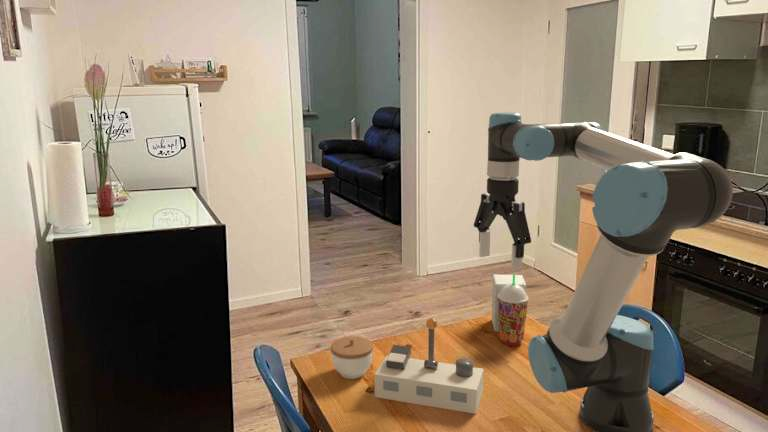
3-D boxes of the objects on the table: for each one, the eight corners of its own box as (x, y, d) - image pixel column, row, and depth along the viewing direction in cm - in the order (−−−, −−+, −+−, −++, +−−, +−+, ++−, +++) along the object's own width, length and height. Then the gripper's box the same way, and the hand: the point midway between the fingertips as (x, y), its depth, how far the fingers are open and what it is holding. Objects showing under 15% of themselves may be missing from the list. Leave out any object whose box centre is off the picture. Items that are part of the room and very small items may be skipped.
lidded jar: (352, 388, 144) (351, 353, 142) (322, 373, 151) (321, 340, 149) (382, 372, 151) (381, 338, 149) (352, 358, 158) (351, 326, 156)
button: (474, 370, 140) (474, 359, 139) (471, 378, 136) (471, 367, 135) (457, 367, 141) (457, 357, 140) (454, 376, 137) (454, 365, 136)
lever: (438, 366, 142) (439, 317, 139) (435, 371, 139) (436, 321, 136) (426, 364, 142) (426, 315, 139) (423, 369, 140) (424, 319, 137)
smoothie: (489, 341, 168) (492, 274, 163) (507, 332, 173) (510, 268, 168) (514, 351, 162) (517, 282, 157) (531, 341, 167) (535, 275, 162)
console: (482, 391, 142) (483, 368, 140) (475, 414, 132) (476, 390, 131) (387, 376, 149) (387, 354, 148) (374, 397, 140) (374, 374, 138)
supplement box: (520, 320, 182) (523, 274, 178) (524, 332, 173) (527, 284, 170) (491, 319, 183) (492, 273, 179) (493, 331, 174) (495, 283, 170)
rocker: (411, 352, 145) (410, 346, 144) (404, 369, 140) (403, 362, 139) (394, 350, 147) (393, 343, 146) (386, 367, 141) (385, 360, 140)
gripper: (550, 183, 134) (545, 274, 139) (484, 169, 155) (482, 248, 160) (524, 187, 131) (520, 279, 136) (461, 171, 151) (459, 252, 156)
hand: (499, 262), depth 148 cm, fingers open, 12 cm apart
